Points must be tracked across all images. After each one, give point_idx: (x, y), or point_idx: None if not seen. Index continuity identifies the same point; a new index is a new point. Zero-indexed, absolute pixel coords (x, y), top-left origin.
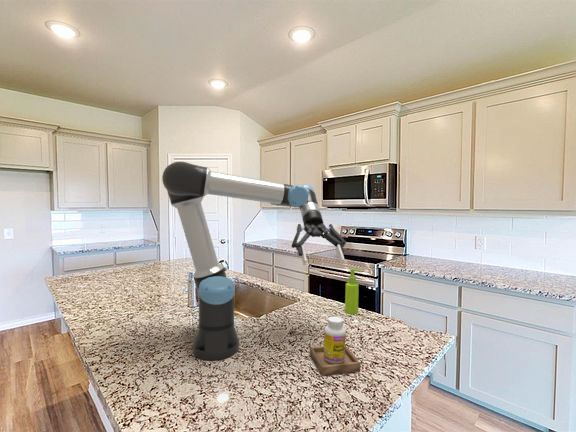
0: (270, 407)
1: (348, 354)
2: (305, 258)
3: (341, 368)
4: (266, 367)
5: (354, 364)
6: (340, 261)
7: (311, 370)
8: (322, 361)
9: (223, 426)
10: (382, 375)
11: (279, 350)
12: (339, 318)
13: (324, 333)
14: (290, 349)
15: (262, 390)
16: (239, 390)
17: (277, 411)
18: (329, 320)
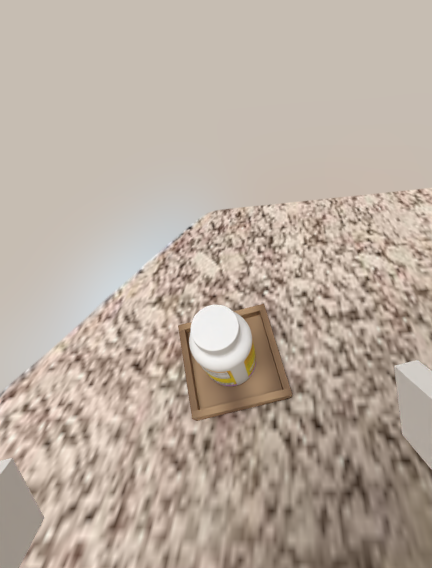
0: (352, 227)
1: (192, 372)
2: (425, 378)
3: None
4: (395, 334)
5: (191, 322)
6: (27, 517)
7: (286, 328)
8: (260, 350)
9: (411, 191)
10: (143, 320)
11: (383, 423)
12: (199, 334)
13: (252, 340)
14: (350, 430)
15: (378, 261)
16: (424, 258)
17: (339, 221)
18: (235, 315)
